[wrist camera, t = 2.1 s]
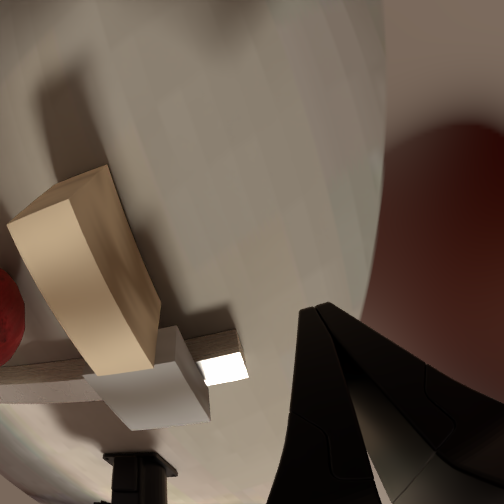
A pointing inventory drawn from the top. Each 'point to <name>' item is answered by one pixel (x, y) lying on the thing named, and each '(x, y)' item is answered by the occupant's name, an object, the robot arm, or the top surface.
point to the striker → (109, 303)
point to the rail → (79, 390)
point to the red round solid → (10, 317)
